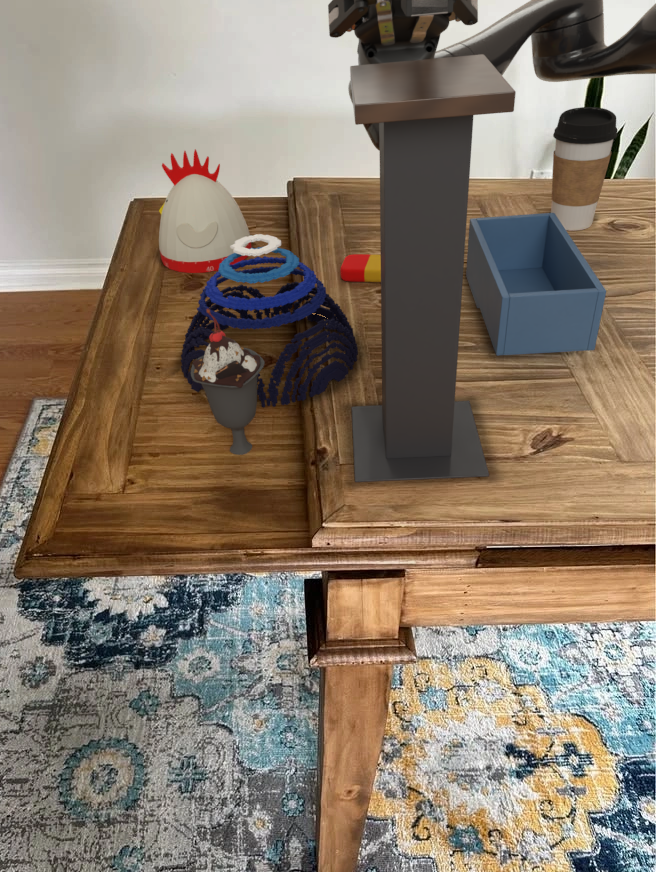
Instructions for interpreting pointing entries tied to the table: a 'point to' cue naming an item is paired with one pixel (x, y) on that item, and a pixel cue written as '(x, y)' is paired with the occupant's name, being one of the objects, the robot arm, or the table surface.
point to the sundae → (229, 384)
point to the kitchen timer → (198, 219)
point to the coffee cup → (580, 164)
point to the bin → (532, 285)
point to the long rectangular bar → (426, 7)
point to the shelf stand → (422, 262)
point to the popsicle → (361, 268)
